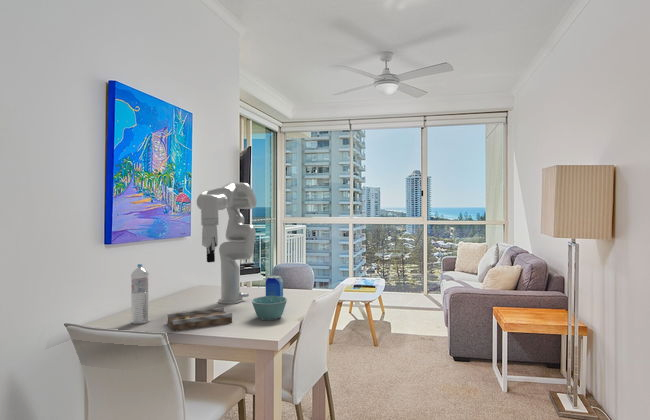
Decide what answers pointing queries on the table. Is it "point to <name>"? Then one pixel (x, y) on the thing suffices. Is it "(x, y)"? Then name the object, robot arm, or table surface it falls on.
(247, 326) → the table surface
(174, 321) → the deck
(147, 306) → the water bottle
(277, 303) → the bowl
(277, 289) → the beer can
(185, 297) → the table surface
